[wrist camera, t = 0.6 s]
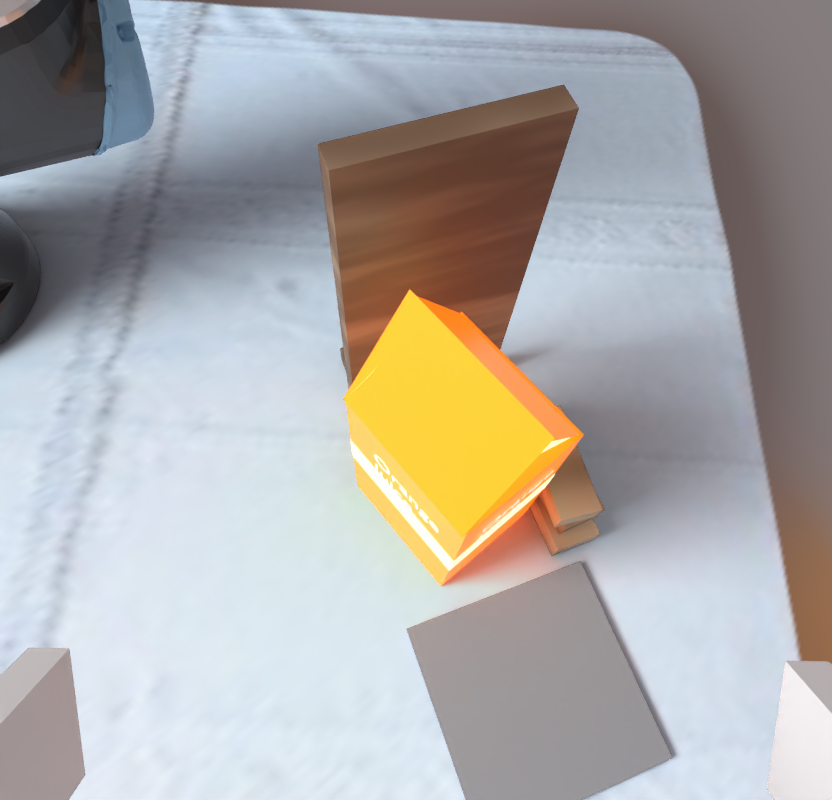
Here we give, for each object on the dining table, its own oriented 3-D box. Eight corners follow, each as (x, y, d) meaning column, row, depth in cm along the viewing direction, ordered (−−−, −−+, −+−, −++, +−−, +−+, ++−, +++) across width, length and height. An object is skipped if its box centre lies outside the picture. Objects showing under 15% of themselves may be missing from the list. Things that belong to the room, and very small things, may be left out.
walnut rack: (334, 360, 48) (291, 80, 26) (487, 314, 50) (565, 20, 28) (423, 604, 41) (464, 501, 19) (596, 538, 43) (809, 378, 21)
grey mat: (406, 629, 40) (406, 628, 40) (578, 562, 42) (580, 561, 42) (481, 844, 36) (482, 846, 35) (669, 757, 38) (672, 758, 38)
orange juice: (441, 419, 46) (476, 241, 28) (526, 513, 44) (626, 383, 26) (354, 486, 44) (331, 339, 26) (439, 589, 41) (480, 506, 23)
